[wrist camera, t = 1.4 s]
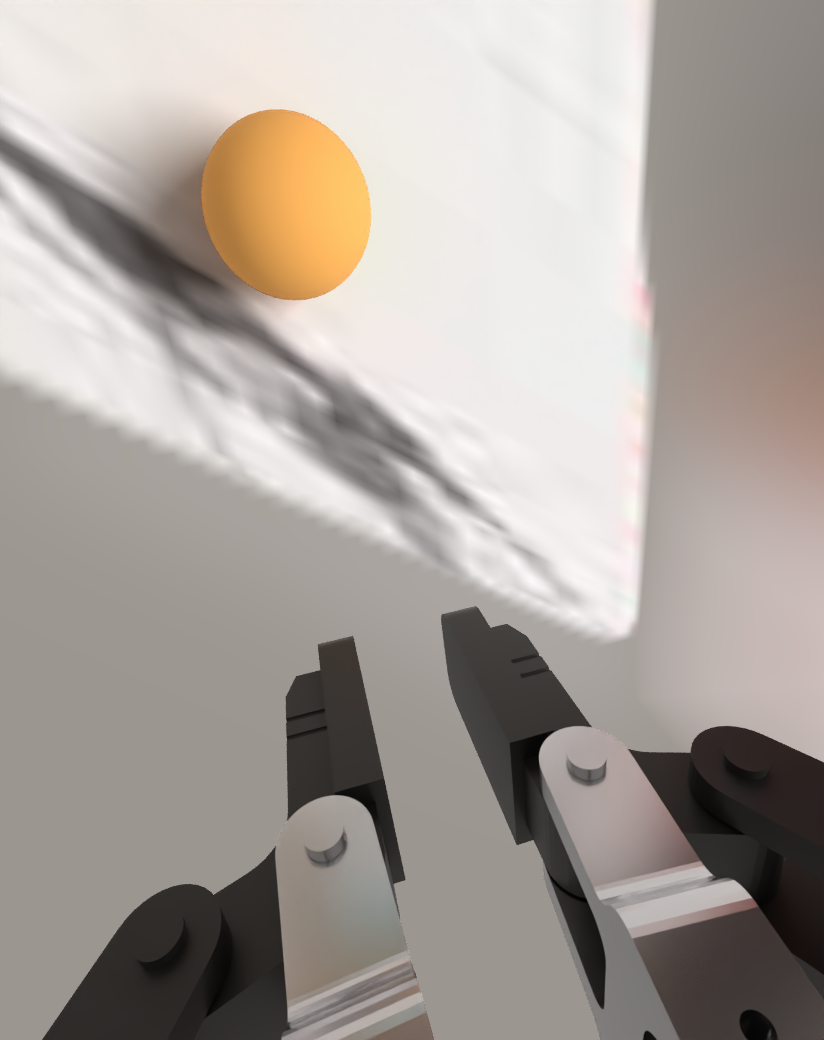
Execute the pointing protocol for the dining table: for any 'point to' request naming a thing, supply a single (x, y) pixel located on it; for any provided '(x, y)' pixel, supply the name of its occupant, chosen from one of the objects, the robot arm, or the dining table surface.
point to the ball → (286, 204)
